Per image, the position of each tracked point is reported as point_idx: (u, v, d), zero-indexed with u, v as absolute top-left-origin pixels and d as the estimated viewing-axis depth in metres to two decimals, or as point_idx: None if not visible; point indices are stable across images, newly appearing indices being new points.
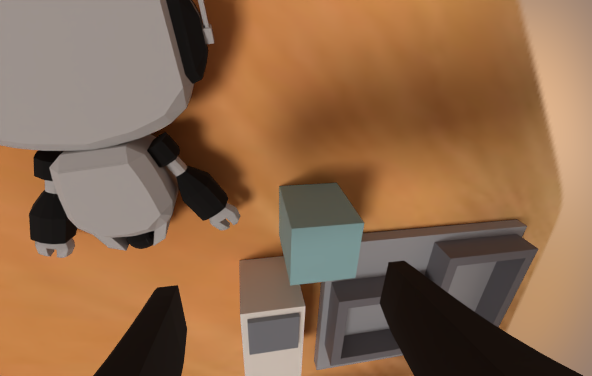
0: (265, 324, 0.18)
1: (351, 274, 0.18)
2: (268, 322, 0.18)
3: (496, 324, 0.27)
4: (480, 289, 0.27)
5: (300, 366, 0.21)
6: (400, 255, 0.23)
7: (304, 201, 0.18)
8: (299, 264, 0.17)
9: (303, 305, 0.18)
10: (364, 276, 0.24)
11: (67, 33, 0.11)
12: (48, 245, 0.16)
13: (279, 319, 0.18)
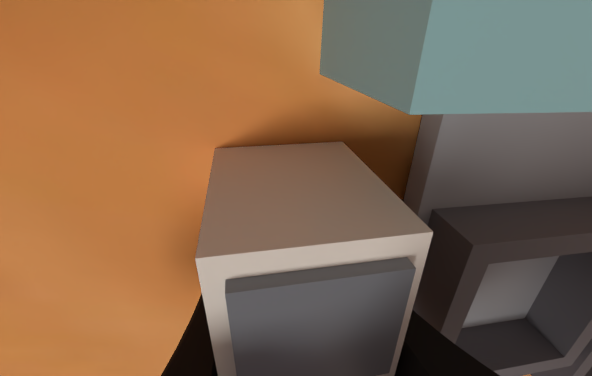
0: (293, 298, 0.05)
1: None
2: (304, 290, 0.05)
3: None
4: None
5: None
6: (589, 148, 0.10)
7: None
8: None
9: (425, 230, 0.05)
10: (502, 199, 0.10)
11: None
12: None
13: (345, 279, 0.05)
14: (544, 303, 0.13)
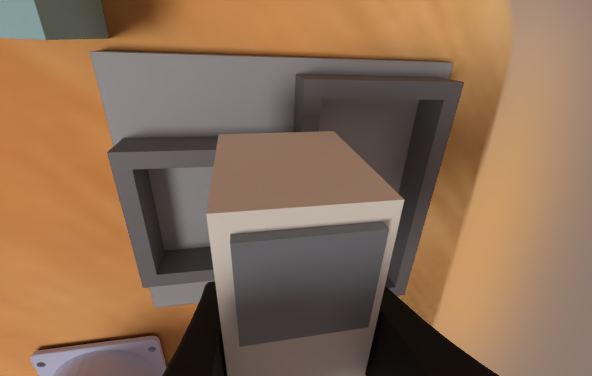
0: (286, 250, 0.06)
1: (31, 26, 0.08)
2: (296, 244, 0.06)
3: (415, 233, 0.17)
4: (393, 183, 0.18)
5: (362, 375, 0.09)
6: (239, 95, 0.14)
7: None
8: None
9: (397, 198, 0.06)
10: (183, 133, 0.14)
11: None
12: None
13: (330, 236, 0.06)
14: None
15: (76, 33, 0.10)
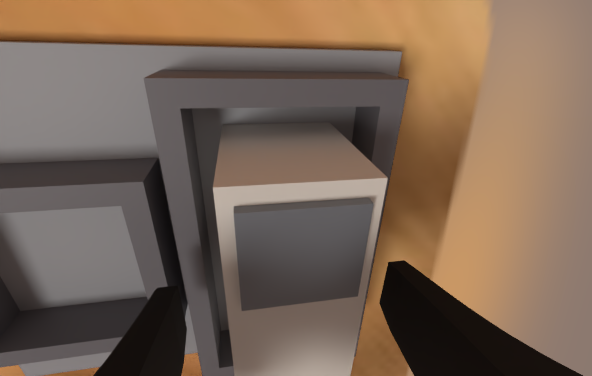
0: (283, 221, 0.07)
1: None
2: (291, 216, 0.07)
3: None
4: None
5: (354, 345, 0.10)
6: (77, 103, 0.09)
7: None
8: None
9: (382, 177, 0.07)
10: (3, 158, 0.10)
11: None
12: None
13: (321, 209, 0.07)
14: None
15: None
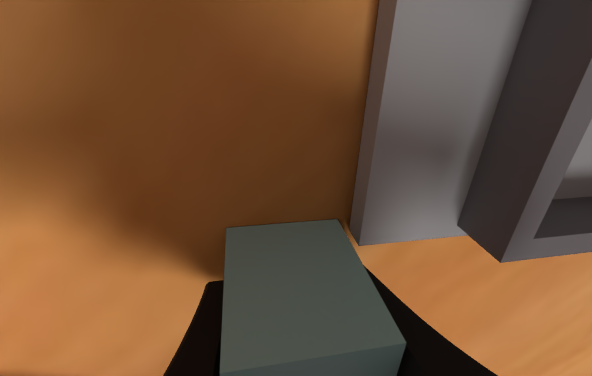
0: None
1: (390, 353, 0.07)
2: None
3: None
4: None
5: None
6: (448, 59, 0.08)
7: None
8: None
9: None
10: (476, 154, 0.09)
11: None
12: None
13: None
14: None
15: (363, 277, 0.08)
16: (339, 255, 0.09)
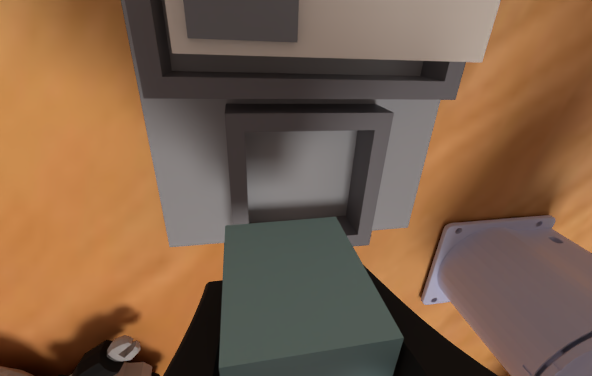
0: None
1: (388, 348, 0.07)
2: None
3: None
4: None
5: None
6: (187, 147, 0.14)
7: None
8: None
9: None
10: (228, 194, 0.16)
11: None
12: None
13: None
14: None
15: (361, 273, 0.08)
16: (337, 252, 0.09)
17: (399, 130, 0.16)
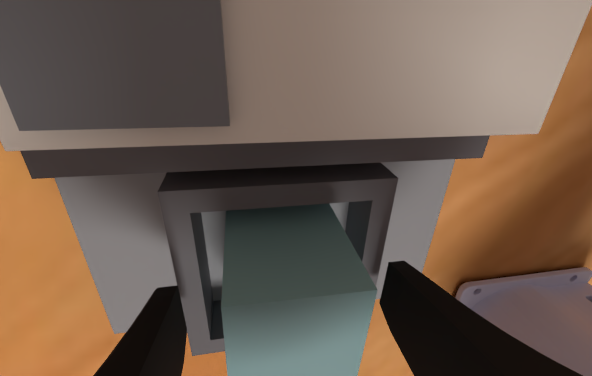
0: (12, 49, 0.04)
1: (364, 299, 0.08)
2: None
3: None
4: None
5: None
6: (123, 219, 0.11)
7: None
8: None
9: None
10: None
11: None
12: None
13: None
14: None
15: (345, 242, 0.09)
16: (326, 225, 0.10)
17: (405, 186, 0.13)
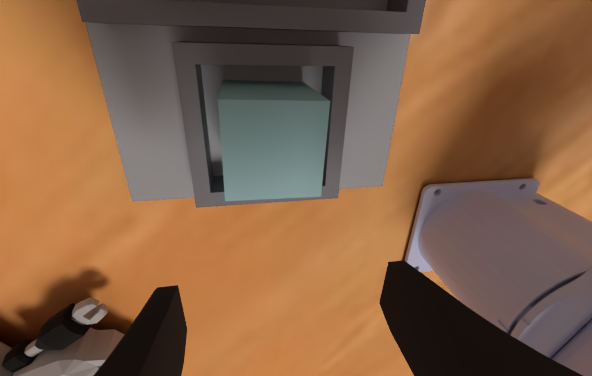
0: None
1: (321, 108, 0.11)
2: None
3: None
4: None
5: None
6: (142, 89, 0.14)
7: None
8: (286, 188, 0.12)
9: None
10: None
11: None
12: None
13: None
14: None
15: (312, 91, 0.13)
16: (299, 87, 0.13)
17: (367, 76, 0.16)
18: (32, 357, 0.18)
